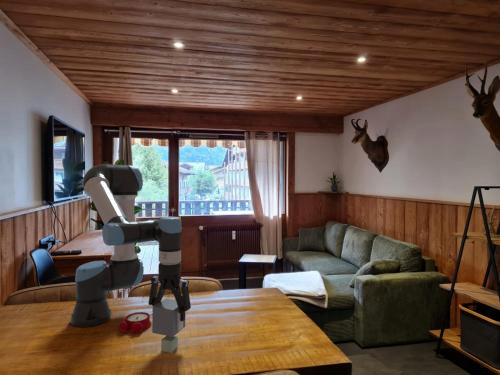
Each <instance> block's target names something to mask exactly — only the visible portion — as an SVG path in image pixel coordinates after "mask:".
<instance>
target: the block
mask: <svg viewBox="0 0 500 375" xmlns="http://www.w3.org/2000/svg"><path fill="white" fill-rule="evenodd" d="M178 340H179V336H178V335H175V336H173V337H170V336H165V335H164V337H162V339H161V343H160V345H161V346H160V347H161V349H160V350H161V352H163V353H164V352H165V353H169V354H173V353H174V352H175V351H176V350H177V349H178V348H179V341H178ZM175 349H176V350H175Z"/></svg>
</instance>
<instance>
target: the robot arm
mask: <svg viewBox="0 0 500 375" xmlns="http://www.w3.org/2000/svg"><path fill="white" fill-rule="evenodd" d="M143 186H144V179H143V175H142V172H141V170H140V168H138V167H137V166H136V165H130V164H106V163H105V164H103V163H102V164H97V165H94V166H92V167H91V168H89V169H88V170H87V171H86V173H85V174H84V175H83V179H82V189H83V191H84V193H85V194H86V195H87V197H90V198H91V201H92V202H93V204H94V206H95V208H96V211H97V212H98V214H99V216H100V218H101V220H102V222H103V224H104V225H103V228H102V230H101V236H102V241H103V243H104V244H105V245H106V246H108V247H109V246H113V255H112V256H110V262H109V263H107V262H106V261H105V260H94V261H90V262H86V263H83V264H81V265H79V266H78V267H77V268H76V270H75V279H74V281H75V304H74V307H73V310H72V314H71V317H70V323H71V325H72V326H74V327H77V328H78V327H79V328H87V327H88V328H89V327H95V326H99V325H102V324H105V323H107V322H108V321H109V320H111V319H112V310H111V308H110V305H109V302H108V299H107V298H108V297H107V293H108V292H113V291H118V290H123V289H129V288H132V287H136V286H139V285H140V283H141V282H142V280H143V277H144V272H145V271H144V269H145V268H144V263H143V261H142V259H140V258H139V255H138V254H136V251H135V250H136V248H135V246H136V244H140V243H149V242H158V262H159V263H158V267H157V268H158V269H157V270H158V275H154V276H152V277H151V278H150V283H151V286H150V290H149V291H150V292H149V298H148V302H147V303H148V305H149V306H152V307H153V306H154V305H156V304H158V303H159V302H161V301H163V297H164V295H165V292H166V290H169V291H171V294H173V296H174V300H176V303H177V305H178V308H179V311H178V312H177V331H178V333H180V332H181V331H182V330H183V329H184V328H183V321H184V320H185V321H186V312H187V311H189V310H190V309H191V308H192V305H191V304H192V303H191V298H190V291H189V290H190V289H189V283H190V281H189V279H185V280H184V279H182V277H181V273H182V263H181V261H182V234H183V233H182V230H183V226H182V219H181V218H180V217H179V216H162V217H159V219H158V218H149V219H147V220H137V221H135V199H136V198H137V197H138V195H139V192H141V191H142V189H143ZM159 284H160V286H159ZM158 287H159V288H158ZM180 330H181V331H180ZM179 331H180V332H179Z"/></svg>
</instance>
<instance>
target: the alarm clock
mask: <svg viewBox="0 0 500 375" xmlns="http://www.w3.org/2000/svg"><path fill="white" fill-rule="evenodd" d="M151 316H152V314H149V312H145V311H144V312H143V311H138V312H133V313H129V314H127V316H125V319H124V320H125V321H124V320H122V321H120V322H119V324H118V329H119V331H120V332H121V333H133V334H134V335H135V334H141V333H142V331H145V330H148V329H149V328H151V326H152V321H151V319H150V318H151Z"/></svg>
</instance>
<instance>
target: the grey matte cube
mask: <svg viewBox="0 0 500 375" xmlns="http://www.w3.org/2000/svg"><path fill="white" fill-rule="evenodd" d="M178 311H179V308H178V305H177V303H176V300H175V299H171V298H170V299H169V298H164V299H162V300H161V302H159V303H158V304H156V305H154V306H152V313H151V316H152V321H151V326H152V329H151V330H152V331H151V333H152V334H155V335H156V334H157V335H162V336H164V337H165V336H170V337H173V336H177V334H178V333H180V332H181V331H182V330H180V331H179V332H178V331H177V312H178ZM184 328H186V319H185V320H184V321H183V329H184Z"/></svg>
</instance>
